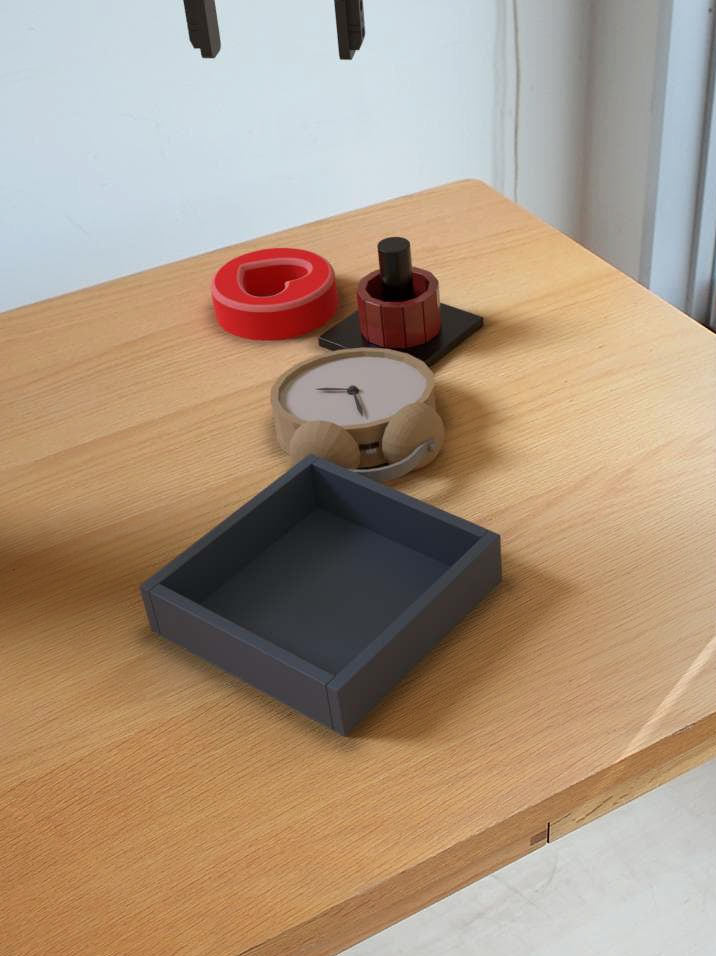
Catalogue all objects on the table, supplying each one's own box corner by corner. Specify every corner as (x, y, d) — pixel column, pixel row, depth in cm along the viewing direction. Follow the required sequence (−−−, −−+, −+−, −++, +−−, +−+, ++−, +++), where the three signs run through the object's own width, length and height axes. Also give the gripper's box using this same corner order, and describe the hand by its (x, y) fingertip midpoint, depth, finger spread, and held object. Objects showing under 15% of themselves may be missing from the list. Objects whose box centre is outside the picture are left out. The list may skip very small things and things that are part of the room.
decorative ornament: (240, 276, 109) (233, 242, 107) (352, 284, 108) (348, 249, 106) (198, 338, 102) (191, 302, 100) (318, 347, 100) (313, 311, 98)
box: (152, 637, 77) (138, 585, 74) (318, 503, 86) (310, 452, 83) (346, 744, 70) (337, 691, 67) (503, 586, 79) (500, 534, 76)
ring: (345, 333, 100) (340, 292, 98) (394, 299, 104) (390, 258, 101) (408, 356, 97) (404, 314, 95) (456, 320, 101) (453, 278, 99)
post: (319, 348, 100) (306, 254, 95) (392, 296, 106) (384, 205, 101) (412, 383, 96) (404, 287, 91) (484, 328, 102) (480, 234, 97)
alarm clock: (415, 335, 96) (462, 418, 83) (422, 397, 98) (469, 487, 85) (260, 361, 94) (284, 450, 81) (271, 424, 96) (296, 520, 83)
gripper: (384, -256, 74) (402, 35, 84) (135, -255, 75) (182, 32, 85) (363, -230, 68) (385, 79, 78) (93, -230, 69) (148, 76, 79)
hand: (279, 55), depth 81 cm, fingers open, 8 cm apart
